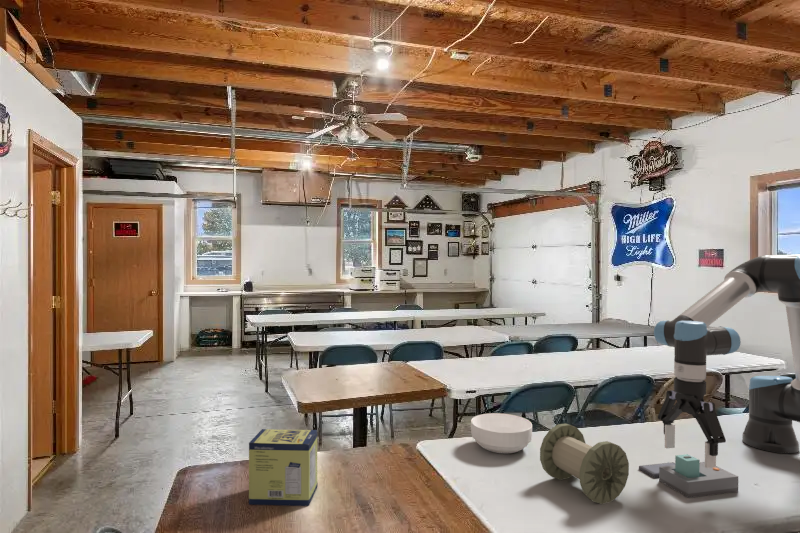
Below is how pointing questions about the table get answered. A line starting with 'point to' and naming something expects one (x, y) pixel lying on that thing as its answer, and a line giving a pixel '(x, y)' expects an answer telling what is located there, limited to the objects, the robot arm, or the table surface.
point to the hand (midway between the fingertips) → (688, 457)
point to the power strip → (699, 481)
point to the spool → (585, 462)
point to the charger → (687, 465)
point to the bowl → (501, 432)
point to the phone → (653, 469)
